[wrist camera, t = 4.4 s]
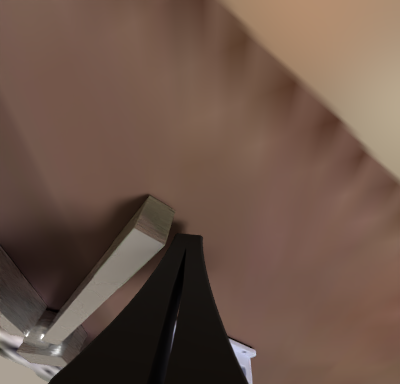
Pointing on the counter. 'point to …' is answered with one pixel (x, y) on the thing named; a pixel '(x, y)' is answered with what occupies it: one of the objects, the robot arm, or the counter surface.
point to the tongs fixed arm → (31, 317)
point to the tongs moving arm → (107, 273)
